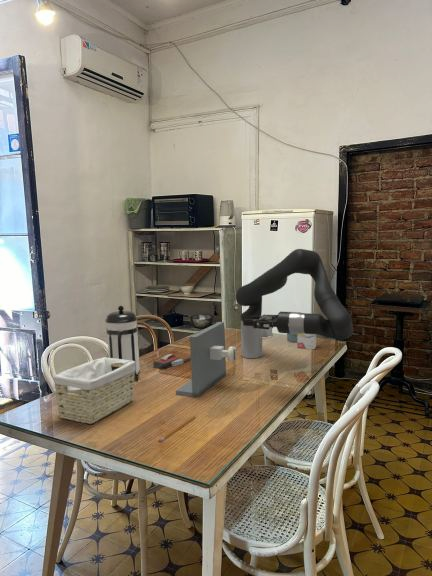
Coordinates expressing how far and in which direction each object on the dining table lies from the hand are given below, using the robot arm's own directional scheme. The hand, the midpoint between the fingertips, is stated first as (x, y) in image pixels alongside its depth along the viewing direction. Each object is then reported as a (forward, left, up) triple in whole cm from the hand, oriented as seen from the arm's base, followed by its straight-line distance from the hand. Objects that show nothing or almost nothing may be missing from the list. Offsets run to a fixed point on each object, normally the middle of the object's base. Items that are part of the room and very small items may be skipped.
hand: (246, 320), depth 155 cm
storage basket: (+53, +3, -26) cm, 60 cm away
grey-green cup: (-43, -62, -26) cm, 80 cm away
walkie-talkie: (+24, -41, -27) cm, 55 cm away
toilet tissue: (-29, -77, -26) cm, 86 cm away
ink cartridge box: (-43, -47, -26) cm, 69 cm away
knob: (+7, -5, -16) cm, 18 cm away
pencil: (+29, +25, -26) cm, 46 cm away
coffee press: (+45, -27, -26) cm, 58 cm away
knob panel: (+14, -10, -26) cm, 31 cm away
